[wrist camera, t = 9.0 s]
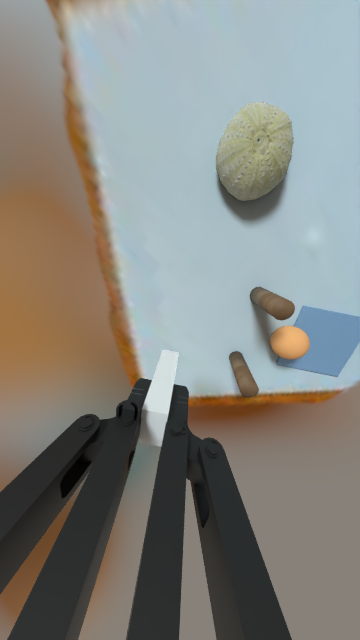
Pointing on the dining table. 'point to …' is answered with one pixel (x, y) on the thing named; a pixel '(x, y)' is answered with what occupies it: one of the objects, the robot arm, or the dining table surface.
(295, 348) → the ball
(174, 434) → the robot arm
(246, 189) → the sea urchin shell
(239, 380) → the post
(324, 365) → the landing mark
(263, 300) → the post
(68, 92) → the dining table surface
